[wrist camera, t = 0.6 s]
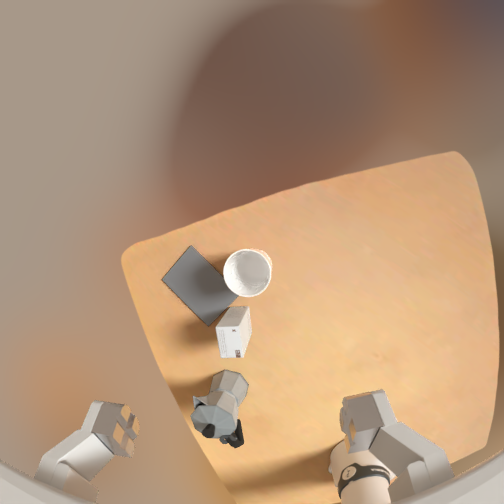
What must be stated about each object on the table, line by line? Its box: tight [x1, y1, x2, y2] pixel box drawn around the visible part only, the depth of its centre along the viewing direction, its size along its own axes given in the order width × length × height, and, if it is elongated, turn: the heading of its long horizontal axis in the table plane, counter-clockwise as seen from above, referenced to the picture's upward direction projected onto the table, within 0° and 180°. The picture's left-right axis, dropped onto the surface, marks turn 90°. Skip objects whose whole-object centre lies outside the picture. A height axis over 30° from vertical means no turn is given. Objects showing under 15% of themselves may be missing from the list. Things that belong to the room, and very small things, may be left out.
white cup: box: [223, 249, 272, 297], centre depth 52 cm, size 8×8×10 cm
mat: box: [162, 245, 239, 326], centre depth 59 cm, size 14×10×1 cm
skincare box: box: [215, 306, 252, 358], centre depth 52 cm, size 6×4×12 cm
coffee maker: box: [191, 370, 249, 448], centre depth 51 cm, size 15×9×18 cm, turn 34°
